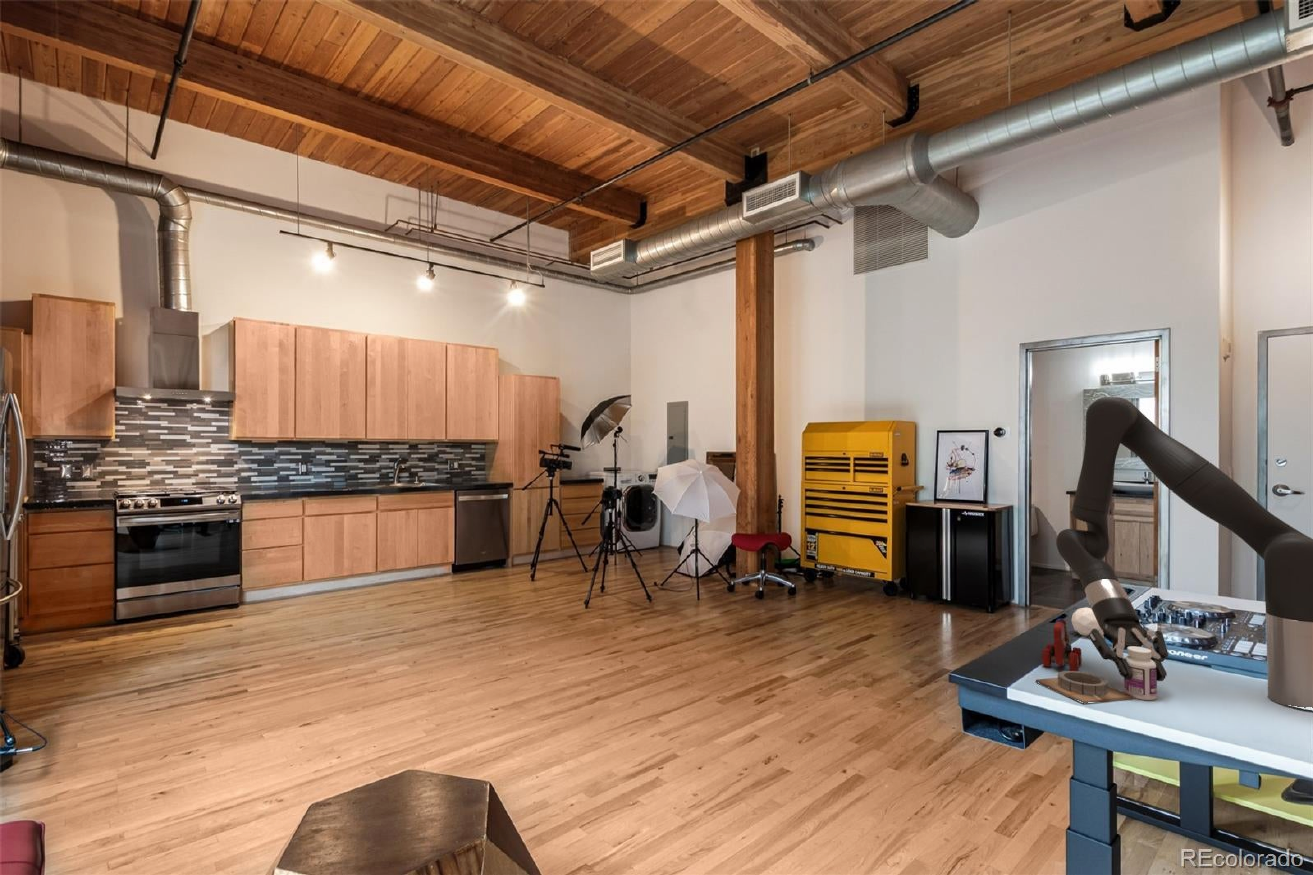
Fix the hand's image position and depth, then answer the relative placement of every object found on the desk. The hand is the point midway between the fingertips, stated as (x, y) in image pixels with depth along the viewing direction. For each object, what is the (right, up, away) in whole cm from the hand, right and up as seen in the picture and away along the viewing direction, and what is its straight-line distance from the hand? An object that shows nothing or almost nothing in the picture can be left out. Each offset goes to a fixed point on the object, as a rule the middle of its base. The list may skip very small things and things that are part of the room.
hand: (1145, 678), depth 127 cm
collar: (-10, -4, +5) cm, 12 cm away
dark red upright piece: (-4, -5, +20) cm, 21 cm away
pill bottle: (0, -4, +2) cm, 5 cm away
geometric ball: (+18, -5, +42) cm, 46 cm away
